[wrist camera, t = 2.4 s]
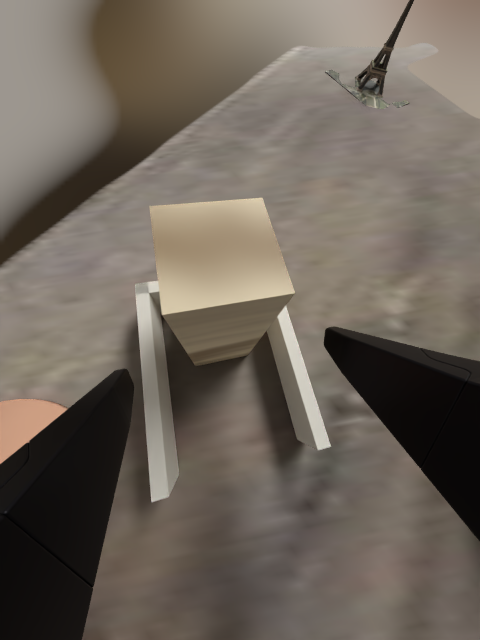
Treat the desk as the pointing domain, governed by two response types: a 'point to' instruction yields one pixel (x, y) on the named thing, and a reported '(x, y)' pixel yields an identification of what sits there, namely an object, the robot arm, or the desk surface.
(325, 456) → the desk surface
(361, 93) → the eiffel tower figurine
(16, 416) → the terracotta pad
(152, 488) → the walled channel
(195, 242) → the birch block
